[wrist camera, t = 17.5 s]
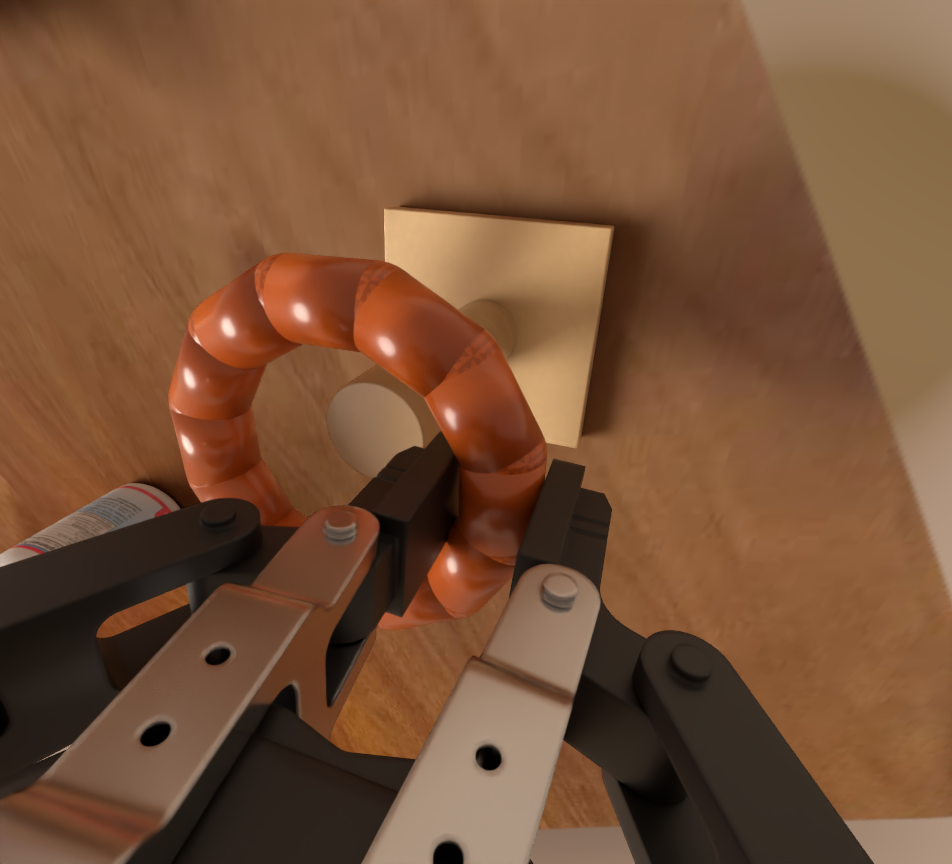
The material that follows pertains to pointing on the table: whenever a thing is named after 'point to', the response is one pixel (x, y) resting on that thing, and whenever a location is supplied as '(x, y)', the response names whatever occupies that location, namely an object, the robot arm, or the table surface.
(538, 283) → the post
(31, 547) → the pill bottle
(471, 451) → the ring
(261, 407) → the table surface
